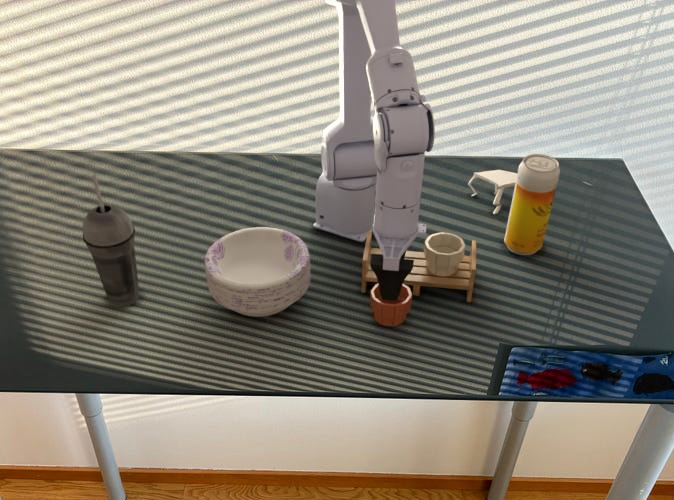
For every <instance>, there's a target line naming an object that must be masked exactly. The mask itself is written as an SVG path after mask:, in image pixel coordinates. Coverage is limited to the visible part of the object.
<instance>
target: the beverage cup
mask: <svg viewBox="0 0 674 500" xmlns="http://www.w3.org/2000/svg"><path fill="white" fill-rule="evenodd" d="M91 177H92V181H93V185H94V189H95V193H96V196H97V197H96V198H97V201H98V205H97V206H94V207H93V208H91V210H89V212H88V213H87V214H86V215H85V217H84V219H83V223H82V241H83V242H84V243H85V245H86V248H87V250H88V252H89V253H90V254H91V258H92V260H93V263H94V265H95V268H96V271H97V274H98V276H99V279H100V282H101V285H102V287H103V290H104V293H105V295H106V297H107V299H108V302H109V304H110V305H112V306H114V307H117V308H124V307H125V308H126V307H130V306H131V305H134V304H135V303H137V301H138V300H139V298H140V293H139V292H140V290H139V288H140V285H139V278H138V268H137V257H136V250H135V249H136V248H135V244H136V234H135V233H136V228H135V226H134V224H133V221H132V219H131V218H130V216H129V215H128V214H127V212H125V211H124V210H123V209H122V208H120V207H118V206H116V205H113V204H106V203H105V204H104V202H103V198H102V194H101V189H100V186H99V183H98V179H97V175H96V174H92V176H91Z"/></svg>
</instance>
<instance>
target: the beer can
mask: <svg viewBox="0 0 674 500" xmlns="http://www.w3.org/2000/svg"><path fill="white" fill-rule="evenodd" d="M560 174H561V170H560V163H559V161H558V160H557V159H556V158H554V157H553V156H550V155H547V154H541V153H533V154H528V155H526V156H524V157H523V158H522V161H521V162H520V164H519V165H518V168H517V178H516V183H515V186H514V189H513V193H512V199H511V203H510V204H511V205H510V209H509V214H508V219H507V223H506V228H505V233H504V237H503V238H504V239H503V242H504V244H505V246H506V248H507V249H508V251H510V252H512V253H514V254H516V255H520V256H531V255H533V254H536V253H537V252H538V251H540V250H541V249H542V247H543V245H544V240H545V236H546V232H547V228H548V223H549V219H550V215H551V211H552V207H553V203H554V198H555V196H556V191H557V186H558V182H559V178H560Z"/></svg>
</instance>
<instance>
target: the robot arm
mask: <svg viewBox="0 0 674 500" xmlns="http://www.w3.org/2000/svg"><path fill="white" fill-rule="evenodd" d="M324 1H325V4H327V5H331V6H333V7H335V8H336V11H337V15H338V47H339V48H338V49H339V59H338V61H339V63H338V64H339V117H338V118H337V119H336V120H335V121H333V122H332V123H331V124H329V125H328V126H327V127H326V128H325V129H323V133H322V138H321V139H322V140H321V141H322V143H321V147H320V161H321V162H320V163H321V169H322V173H321V174H320V176H319V177H318V180H317V183H316V186H315V194H314V195H315V197H314V198H315V201H314V202H315V222H314V223H313V228H315V229H318V230H321V231H324V232H327V233H331V234H334V235H336V236H339V237H342V238H346V239H349V240H353V241H356V242H359V243H364V242H366V240H367V234H368V232H372V234H373V236H374V239H375V240H376V242H377V245H378V247H379V249H381V251H382V254H371V258H370V266H371V269H372V270H373V272H374V273H375V275H376V277H377V280H378V282H377V283H379V289H380V294H381V296H380V297H382V299H383V300H393V301H396V300H397V299H398V297H400V296H399V294H400V291H401V288H402V285H403V282H404V280H405V278H406V277H407V276H408V274H409V273H410V272H411V271H412V269H413V265H414V260H410V259H404V257H405V253H406V251H408V249H409V247H410V246H411V245H412V243H413V242H414V241H415V240H416V238H418V237H425V236H426V235H427V228H428V227H427V224H425V223H420V222H419V219H420V218H419V216H420V208H421V197H422V187H423V178H424V177H423V175H424V166H425V159H426V157H425V156H426V152H427V153H430V152H431V151H432V149H433V148H434V144H435V137H436V136H435V119H434V113H433V109H432V107H431V105H430V103H429V102H428V101H427V99H426V96H425V95H424V94H421V92H420V88H419V87H420V86H419V84H418V79H417V74H416V69H415V64H414V61H413V57H412V54H411V52H410V51H408V50H407V49H405V48H403V47H401V41H400V33H399V25H398V16H397V7H396V0H324ZM372 105H373V111H374V116H373V118H371V111H372V109H371V108H372Z"/></svg>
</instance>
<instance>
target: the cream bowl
mask: <svg viewBox="0 0 674 500" xmlns="http://www.w3.org/2000/svg"><path fill="white" fill-rule="evenodd" d="M423 252H424V256H425V259H426V266H427V269H428V270H429V271H430V272H431V273H432V274H434V275H436V276H441V277H446V276H450V275H452V274H454V273H456V271H457V270H458V268H459V264H460V262H461V261H462V260H463V258H464V256H465V252H466V243H465V241H464V239H463V237H461V236H459V235H457V234H455V233H451V232H443V231H441V232H436V233H432V234H430V235H428V236H427V238H426V239H425V241H424V246H423Z"/></svg>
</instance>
